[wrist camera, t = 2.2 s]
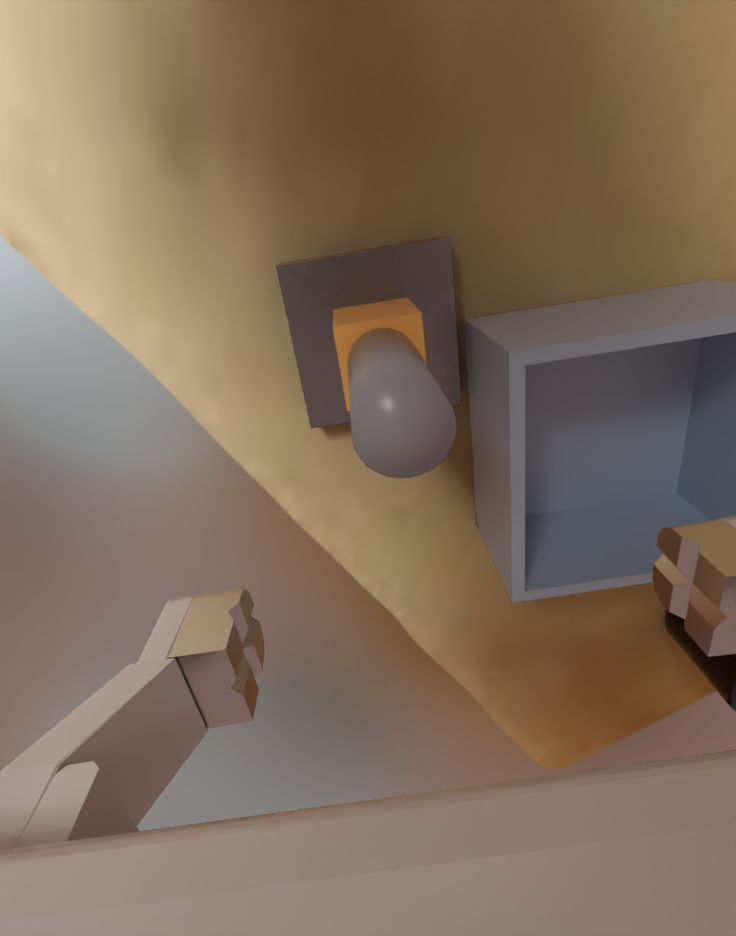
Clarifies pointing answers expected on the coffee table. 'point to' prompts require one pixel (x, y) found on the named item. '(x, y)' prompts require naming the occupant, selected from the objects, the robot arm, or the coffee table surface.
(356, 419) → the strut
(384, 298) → the ball stud base
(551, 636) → the coffee table surface
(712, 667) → the supplement bottle
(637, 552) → the bin
